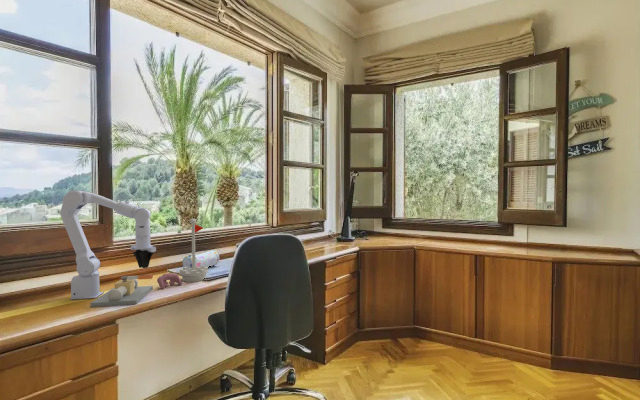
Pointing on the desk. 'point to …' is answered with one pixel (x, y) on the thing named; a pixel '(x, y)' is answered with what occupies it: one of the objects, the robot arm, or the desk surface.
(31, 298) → the desk surface
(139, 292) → the valve board
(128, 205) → the robot arm
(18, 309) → the desk surface
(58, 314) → the desk surface
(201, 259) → the pencil case
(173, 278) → the pink animal figurine
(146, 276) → the valve lever
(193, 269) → the flag stand
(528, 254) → the desk surface
